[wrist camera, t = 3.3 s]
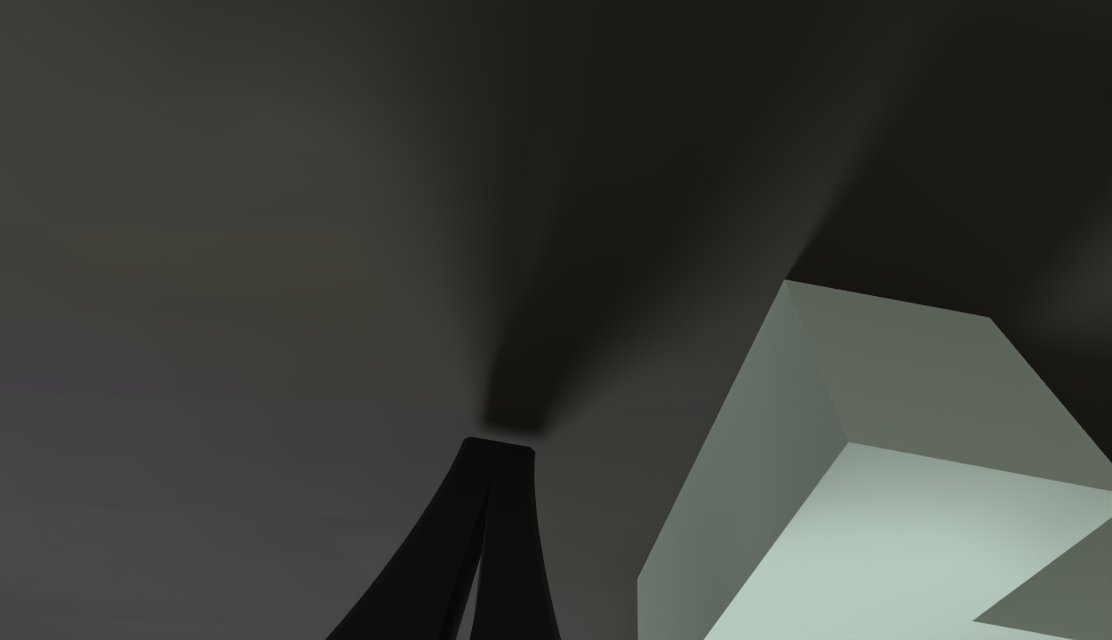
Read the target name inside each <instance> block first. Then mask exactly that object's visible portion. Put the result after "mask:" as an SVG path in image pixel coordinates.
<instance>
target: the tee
mask: <svg viewBox="0 0 1112 640" xmlns="http://www.w3.org/2000/svg"><path fill="white" fill-rule="evenodd" d="M637 589H638V640H1112V463H1111V462H1110V461H1109V459H1108V458H1107V457H1106V456H1105V455H1104V453H1103V452H1102V451H1101V450H1100V449H1099V447H1098V446H1097V445H1096V444H1095V443H1094V441H1093V440H1092V439H1091V438H1090V437H1089V436H1088V434H1087V433H1086V432H1085V431H1084V430H1083V428H1082V427H1081V426H1080V425H1079V424H1078V422H1077V421H1076V420H1075V419H1074V418H1073V416H1072V415H1071V414H1070V413H1069V412H1068V410H1067V409H1066V408H1065V407H1064V406H1063V404H1062V403H1061V402H1060V401H1059V400H1058V399H1057V397H1056V396H1055V395H1054V394H1053V393H1052V391H1051V390H1050V389H1049V388H1048V387H1047V385H1046V384H1045V383H1044V382H1043V381H1042V379H1041V378H1040V377H1039V376H1038V375H1037V373H1036V372H1035V371H1034V370H1033V369H1032V368H1031V366H1030V365H1029V364H1028V363H1027V362H1026V360H1025V359H1024V358H1023V357H1022V356H1021V354H1020V353H1019V352H1018V351H1017V350H1016V348H1015V347H1014V346H1013V345H1012V344H1011V342H1010V341H1009V340H1008V339H1007V338H1006V336H1005V335H1004V334H1003V333H1002V332H1001V331H1000V329H999V328H998V327H997V326H996V325H995V323H994V322H993V321H992V320H991V319H990V318H989V317H984V316H979V315H973V314H968V313H963V312H958V311H952V310H947V309H941V308H936V307H931V306H925V305H920V304H914V303H909V302H904V301H898V300H893V299H887V298H882V297H876V296H871V295H866V294H860V293H855V292H849V291H844V290H839V289H833V288H828V287H822V286H817V285H811V284H806V283H801V282H795V281H790V280H784V281H783V283H782V285H781V288H780V290H779V292H778V294H777V296H776V298H775V300H774V302H773V304H772V306H771V308H770V310H769V312H768V314H767V316H766V318H765V320H764V322H763V324H762V326H761V328H760V330H759V332H758V334H757V336H756V338H755V341H754V343H753V345H752V347H751V349H750V351H749V353H748V355H747V357H746V359H745V361H744V363H743V365H742V367H741V369H740V371H739V373H738V375H737V377H736V379H735V381H734V383H733V385H732V387H731V389H730V391H729V393H728V396H727V398H726V400H725V402H724V404H723V406H722V408H721V410H720V412H719V414H718V416H717V418H716V420H715V422H714V424H713V426H712V428H711V430H710V432H709V434H708V436H707V438H706V440H705V442H704V444H703V446H702V449H701V451H700V453H699V455H698V457H697V459H696V461H695V463H694V465H693V467H692V469H691V471H690V473H689V475H688V477H687V479H686V481H685V483H684V485H683V487H682V489H681V491H680V493H679V495H678V497H677V499H676V502H675V504H674V506H673V508H672V510H671V512H670V514H669V516H668V518H667V520H666V522H665V524H664V526H663V528H662V530H661V532H660V534H659V536H658V538H657V540H656V542H655V544H654V546H653V548H652V550H651V552H650V555H649V557H648V559H647V561H646V563H645V565H644V567H643V569H642V571H641V573H640V575H639V577H638V579H637Z"/></svg>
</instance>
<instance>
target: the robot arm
mask: <svg viewBox="0 0 1112 640" xmlns="http://www.w3.org/2000/svg"><path fill="white" fill-rule="evenodd" d="M534 461H535V451H534V450H533V449H532V448H531V447H526V446H521V445H515V444H509V443H503V442H498V441H492V440H486V439H480V438H475V437H468V438H466V439H464V441H463V443H462V445H461V448H460V450H459V452H458V454H457V456H456V458H455V460H454V462H453V464H452V466H451V468H450V470H449V472H448V473H447V475H446V477H445V479H444V480H443V482H442V484H441V486H440V487H439V489H438V491H437V492H436V494H435V496H434V497H433V499H432V500H431V502H430V503H429V505H428V506H427V508H426V509H425V511H424V513H423V514H422V516H421V517H420V519H419V520H418V522H417V523H416V525H415V526H414V528H413V529H412V531H411V532H410V534H409V535H408V536H407V538H406V539H405V541H404V542H403V543H402V545H401V546H400V547H399V549H398V550H397V552H396V553H395V554H394V556H393V557H392V558H391V560H390V561H389V562H388V564H387V565H386V566H385V568H384V569H383V570H382V572H381V573H380V574H379V576H378V577H377V578H376V580H375V581H374V582H373V583H372V585H371V586H370V587H369V588H368V590H367V591H366V592H365V593H364V595H363V596H362V597H361V598H360V600H359V601H358V602H357V603H356V605H355V606H354V607H353V608H352V609H351V610H350V612H349V613H348V614H347V615H346V616H345V618H344V619H343V620H342V621H341V622H340V624H339V625H338V626H337V627H336V628H335V629H334V630H333V632H332V633H331V634H330V635H329V636H328V637H327V638H326V639H325V640H456V637H457V634H458V630H459V627H460V624H461V620H462V617H463V614H464V610H465V607H466V603H467V600H468V597H469V593H470V590H471V587H472V583H473V580H474V576H475V573H476V570H477V566H478V563H479V559H480V556H481V561H480V570H479V578H478V587H477V596H476V604H475V613H474V621H473V626H472V631H471V636H470V640H561V638H560V634H559V630H558V626H557V622H556V618H555V614H554V609H553V605H552V600H551V595H550V591H549V586H548V582H547V576H546V571H545V566H544V560H543V554H542V548H541V541H540V535H539V528H538V520H537V511H536V500H535V486H534Z"/></svg>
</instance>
